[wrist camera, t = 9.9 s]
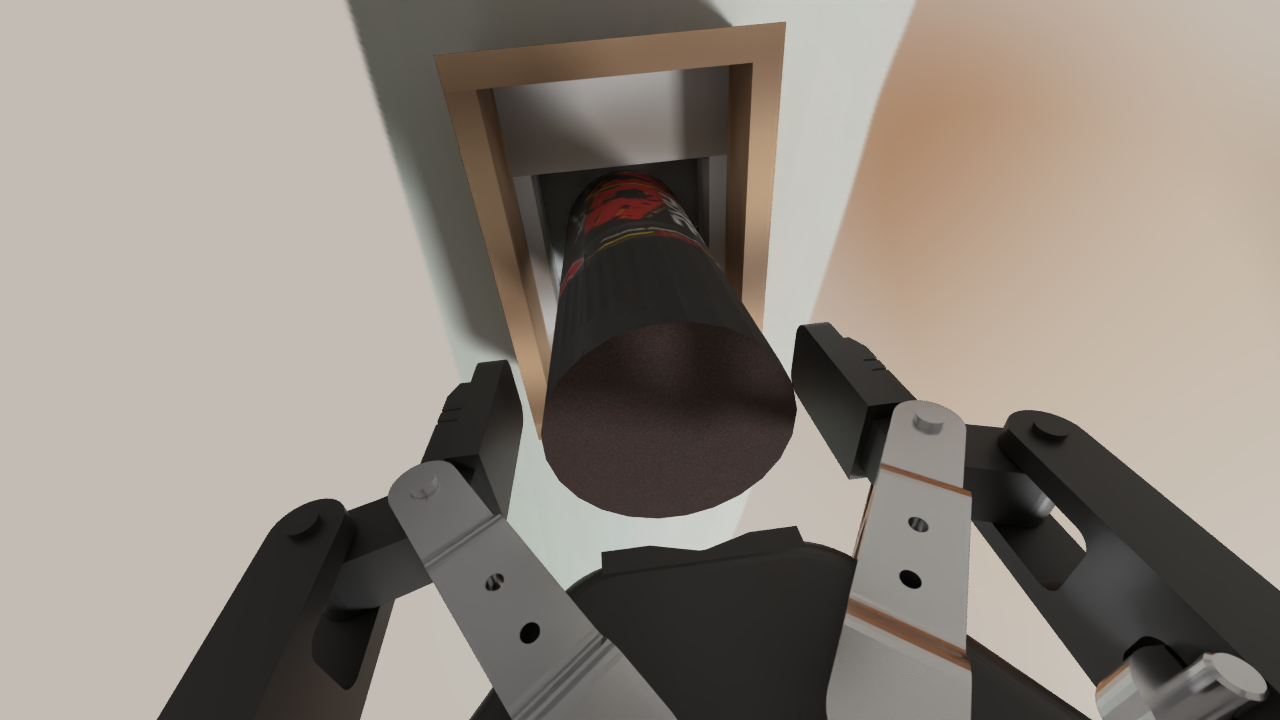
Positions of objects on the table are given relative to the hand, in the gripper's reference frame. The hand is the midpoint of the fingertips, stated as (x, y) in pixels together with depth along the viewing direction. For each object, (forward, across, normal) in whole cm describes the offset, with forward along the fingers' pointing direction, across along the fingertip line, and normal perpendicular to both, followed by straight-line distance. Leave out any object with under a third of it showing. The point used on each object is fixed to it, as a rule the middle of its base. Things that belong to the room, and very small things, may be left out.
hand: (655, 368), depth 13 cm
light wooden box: (+12, 0, 0) cm, 12 cm away
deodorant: (+12, 0, 0) cm, 13 cm away
